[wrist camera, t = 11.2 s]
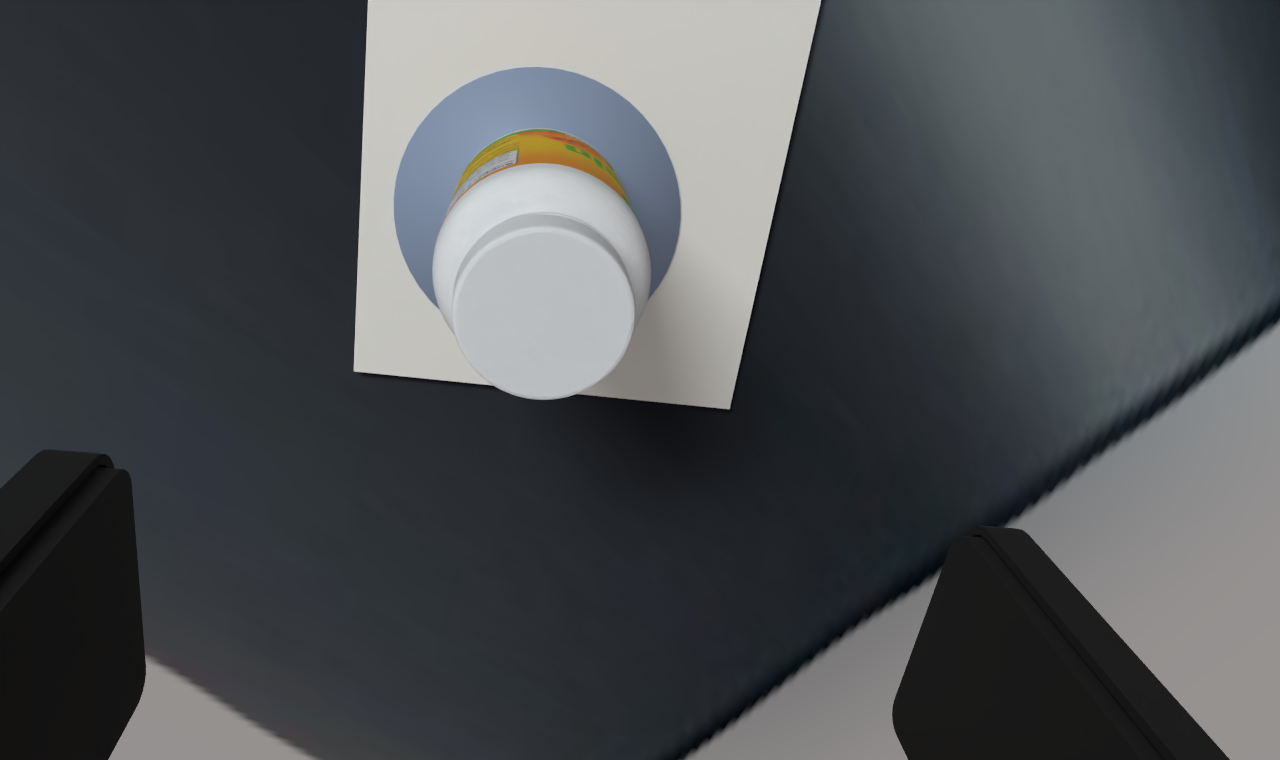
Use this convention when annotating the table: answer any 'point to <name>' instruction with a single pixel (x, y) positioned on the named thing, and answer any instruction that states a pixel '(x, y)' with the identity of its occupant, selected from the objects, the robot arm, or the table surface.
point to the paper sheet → (617, 128)
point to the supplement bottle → (541, 265)
